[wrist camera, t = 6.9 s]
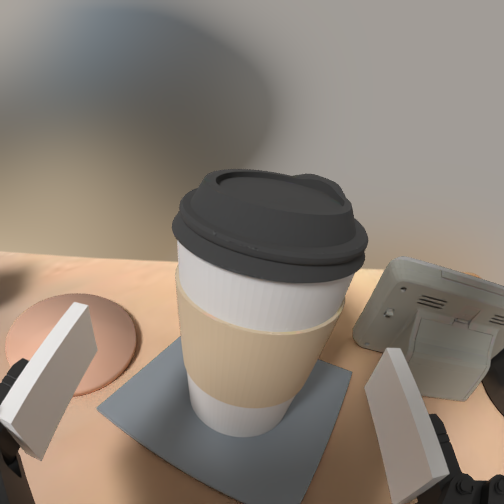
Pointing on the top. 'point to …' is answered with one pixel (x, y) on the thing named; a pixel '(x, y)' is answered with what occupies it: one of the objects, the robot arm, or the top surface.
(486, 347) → the digital clock
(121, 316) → the terracotta coaster
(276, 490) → the blue gray square tile
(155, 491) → the top surface
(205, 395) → the coffee cup
